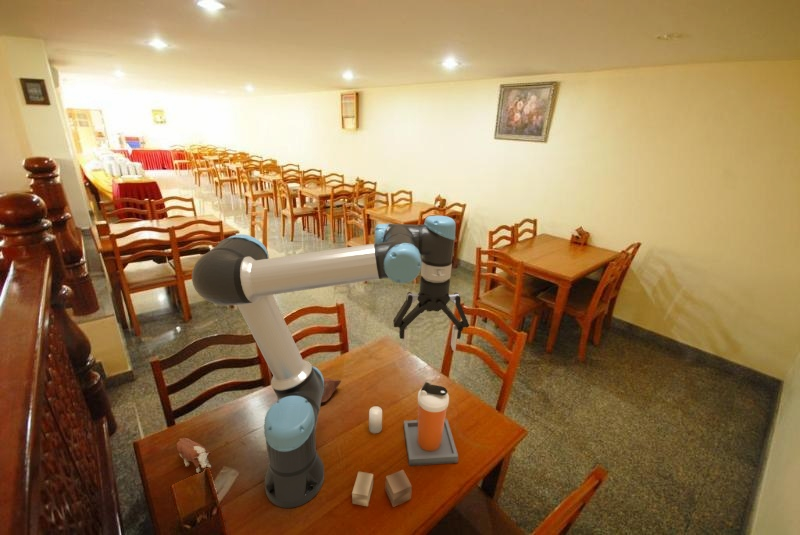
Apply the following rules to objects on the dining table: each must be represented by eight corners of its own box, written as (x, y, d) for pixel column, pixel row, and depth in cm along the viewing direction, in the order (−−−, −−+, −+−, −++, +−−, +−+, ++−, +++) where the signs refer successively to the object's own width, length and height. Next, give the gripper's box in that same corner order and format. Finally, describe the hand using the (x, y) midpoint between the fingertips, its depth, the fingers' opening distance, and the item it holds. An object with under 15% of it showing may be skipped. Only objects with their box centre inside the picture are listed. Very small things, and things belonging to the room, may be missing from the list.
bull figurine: (204, 485, 91) (199, 463, 88) (176, 460, 98) (171, 438, 95) (220, 472, 95) (215, 450, 92) (192, 449, 101) (187, 427, 98)
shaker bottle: (442, 457, 101) (448, 402, 94) (412, 450, 103) (415, 396, 95) (445, 432, 109) (451, 380, 102) (416, 427, 111) (420, 375, 103)
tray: (409, 465, 99) (409, 459, 98) (403, 426, 112) (403, 420, 111) (457, 462, 101) (458, 456, 100) (446, 424, 114) (447, 418, 113)
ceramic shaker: (369, 433, 109) (369, 416, 106) (368, 423, 113) (369, 406, 110) (382, 433, 109) (382, 415, 107) (381, 423, 113) (381, 406, 111)
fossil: (342, 377, 128) (332, 367, 120) (346, 400, 122) (335, 391, 115) (310, 389, 128) (297, 380, 120) (312, 412, 123) (299, 404, 115)
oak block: (352, 503, 89) (352, 493, 87) (358, 482, 94) (358, 471, 93) (367, 506, 88) (367, 495, 87) (373, 484, 94) (373, 474, 92)
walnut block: (393, 507, 88) (393, 493, 86) (385, 489, 92) (385, 476, 91) (410, 499, 90) (411, 485, 88) (402, 482, 94) (403, 469, 93)
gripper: (387, 282, 85) (384, 356, 92) (487, 284, 87) (476, 355, 95) (385, 270, 92) (383, 340, 99) (479, 272, 94) (469, 340, 102)
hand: (428, 347), depth 97 cm, fingers open, 13 cm apart
